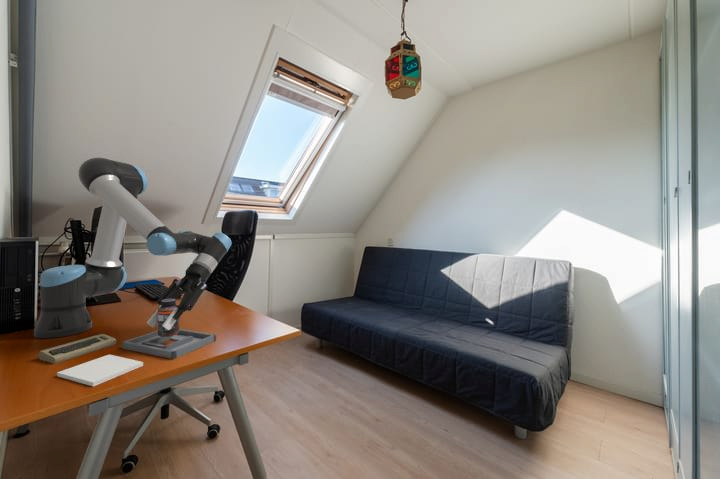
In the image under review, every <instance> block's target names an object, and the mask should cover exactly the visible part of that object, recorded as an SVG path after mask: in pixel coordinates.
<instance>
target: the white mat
mask: <svg viewBox="0 0 720 479" xmlns="http://www.w3.org/2000/svg"><path fill="white" fill-rule="evenodd" d="M143 366H144V362H143V361H139V360H137V359H131V358H127V357H122V356H118V355H113V354H107V355H106V354H105V355H104V356H100V357H99V358H95V359H92V360H89V361H85V362H83V363H81V364H78V365H74V366H73V367H69V368H66V369H63V370H61V371H58V372H56V374H57V376H56V377H58V378H62V379H66V380H69V381H72V382H76V383H79V384H82V385H83V384H84V385H87V386H90V387H96V386H98V385H100V384H103V383H106V382H107V381H109V380H112V379H115V378H117V377H120V376H122V375H125V374H126V373H129V372H131V371H133V370H136V369H139V368H141V367H143Z"/></svg>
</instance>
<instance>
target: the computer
mask: <svg viewBox="0 0 720 479" xmlns="http://www.w3.org/2000/svg"><path fill="white" fill-rule="evenodd" d="M116 345H117V339H116V338H115V337H113V336H111V335H107V334H105V333H100V334H96V335H93V336H89V337H86V338H82V339H79V340H74V341H71V342H67V343H64V344H60V345H57V346H54V347H49V348H45V349H43V350H40V351H39V352H38V359H40V361H42V360H43V361H42V362H46V361H47V362H46V363H49V362H50V363H51V364H53V365H56V364H59V363H62V362H64V361H68V360H72V359H75V358H78V357H82V356H83V355H87V354H90V352H91V353H94V352H97V351H99V350H103V349H106V348H110V347H113V346H116Z"/></svg>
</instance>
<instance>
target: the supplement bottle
mask: <svg viewBox="0 0 720 479" xmlns="http://www.w3.org/2000/svg"><path fill="white" fill-rule="evenodd" d="M176 301H177V299H164V300H162V301H161V307H159V306H158V307H159V308H158V307H157V308H158V323H157V331H158V336H161V337H169V336H173V335H176V334H178V333H179V329H180V318H179V319H178V320H176V322H175V323H174V325H173V326H172V327H171V329H170V330H167V329H165V328H164V327H163V326H162V325H163V324H164V322H165V321H166V320H167V318H168V317H169V316H170V314H171V313H172V311H173V310H174V309H175V308H178V307H177V306H178V305H177V304H176V303H177V302H176ZM178 309H179V308H178Z"/></svg>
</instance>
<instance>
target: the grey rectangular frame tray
mask: <svg viewBox="0 0 720 479" xmlns="http://www.w3.org/2000/svg"><path fill="white" fill-rule="evenodd" d="M170 340H171V341H174V342H171V343H168V344H166V345H165V344H162V343H164V342H167V341H170ZM216 341H217V334H213V333H207V332H201V331H196V330H195V331H194V330H188V329H182V328H179V333H178V334H176V335H173V336H169V337H161V336H158V330H155V331H153V332H149V333H146V334H143V335H140V336H136V337H133V338H130V339H127V340H124V341H121V349H123V350H129V351H133V352H137V353H141V354H147V355H152V356H157V357H161V358H165V359H170V360H175V359H177V358H180V357H182V356H184V355H187V354H189V353H191V352H193V351H195V350H198V349H200V348H203V347H205V346H207V345H210V344H212V343H214V342H216Z"/></svg>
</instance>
